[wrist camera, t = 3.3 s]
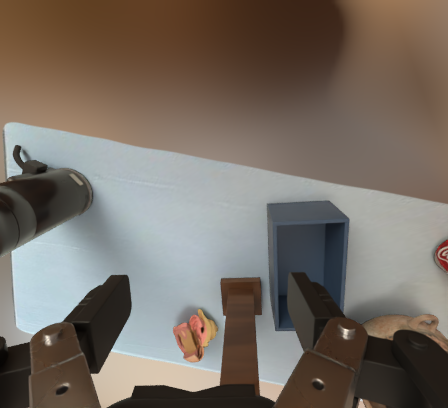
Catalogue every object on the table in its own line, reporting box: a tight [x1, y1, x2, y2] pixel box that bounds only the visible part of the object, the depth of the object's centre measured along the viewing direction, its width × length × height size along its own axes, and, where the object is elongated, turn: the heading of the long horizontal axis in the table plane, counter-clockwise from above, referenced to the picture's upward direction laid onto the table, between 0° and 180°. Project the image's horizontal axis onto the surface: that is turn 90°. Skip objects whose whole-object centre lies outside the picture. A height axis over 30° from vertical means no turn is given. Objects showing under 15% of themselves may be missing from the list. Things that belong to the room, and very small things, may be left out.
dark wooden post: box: [220, 277, 262, 396], centre depth 38 cm, size 10×9×34 cm
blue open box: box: [267, 201, 349, 331], centre depth 46 cm, size 20×11×10 cm, turn 5°
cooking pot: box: [362, 314, 448, 408], centre depth 49 cm, size 25×19×12 cm
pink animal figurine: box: [173, 309, 218, 362], centre depth 55 cm, size 9×10×10 cm
